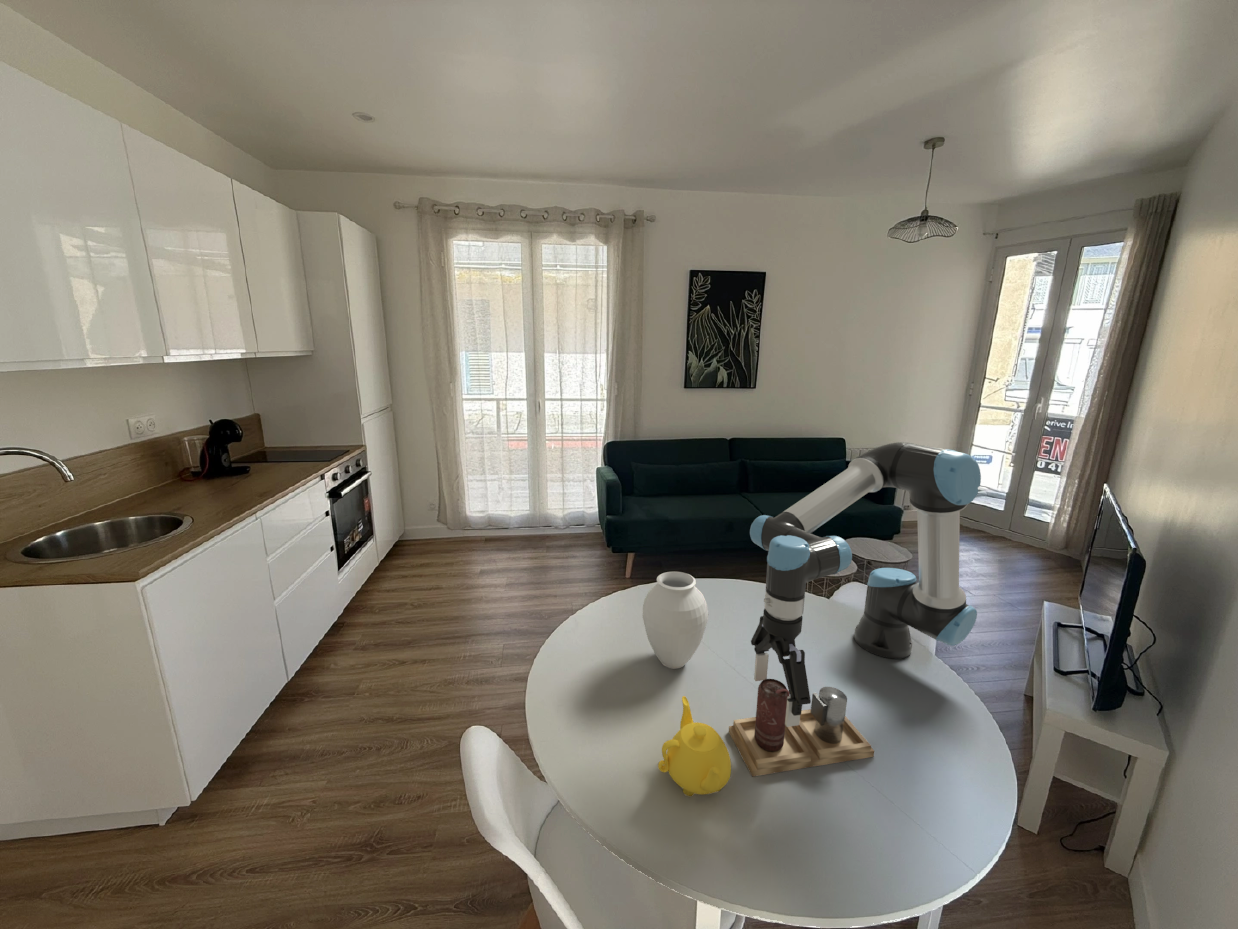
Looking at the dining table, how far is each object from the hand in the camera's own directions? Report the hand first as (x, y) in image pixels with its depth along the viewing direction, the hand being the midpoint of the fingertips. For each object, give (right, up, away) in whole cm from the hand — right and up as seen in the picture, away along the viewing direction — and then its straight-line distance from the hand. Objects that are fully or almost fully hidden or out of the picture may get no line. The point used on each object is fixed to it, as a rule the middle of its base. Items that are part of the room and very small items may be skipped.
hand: (775, 700), depth 102 cm
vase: (-18, -5, +32) cm, 37 cm away
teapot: (-18, -14, -4) cm, 23 cm away
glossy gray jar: (+13, -10, +5) cm, 17 cm away
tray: (+7, -11, +4) cm, 14 cm away
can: (0, -10, +3) cm, 11 cm away
